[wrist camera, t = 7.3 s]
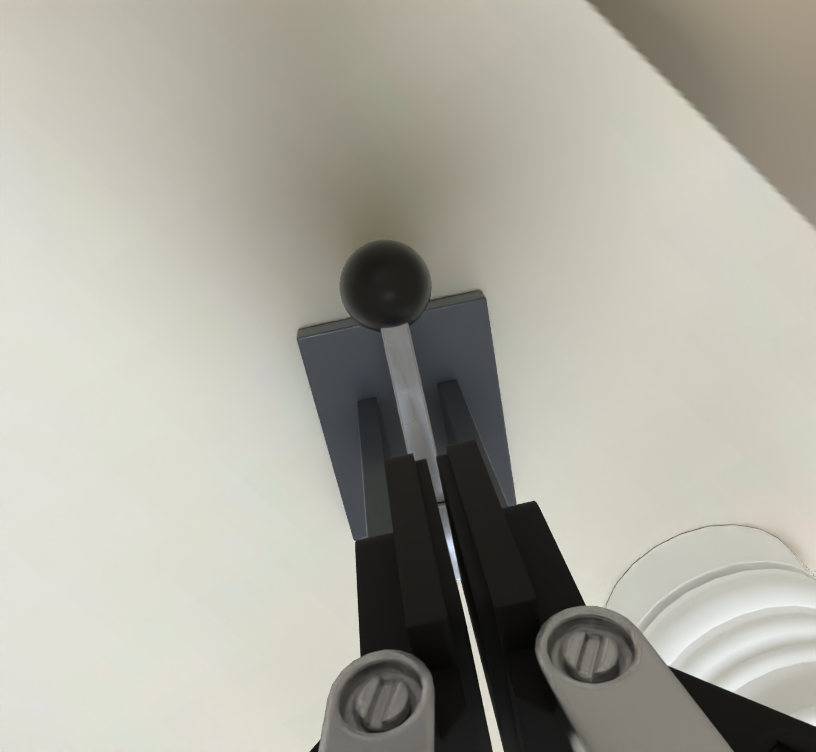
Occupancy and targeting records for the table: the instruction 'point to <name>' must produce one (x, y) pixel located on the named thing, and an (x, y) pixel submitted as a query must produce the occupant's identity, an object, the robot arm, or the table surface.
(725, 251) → the table surface
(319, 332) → the lever bracket
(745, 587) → the honey pot
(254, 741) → the table surface
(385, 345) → the press lever
